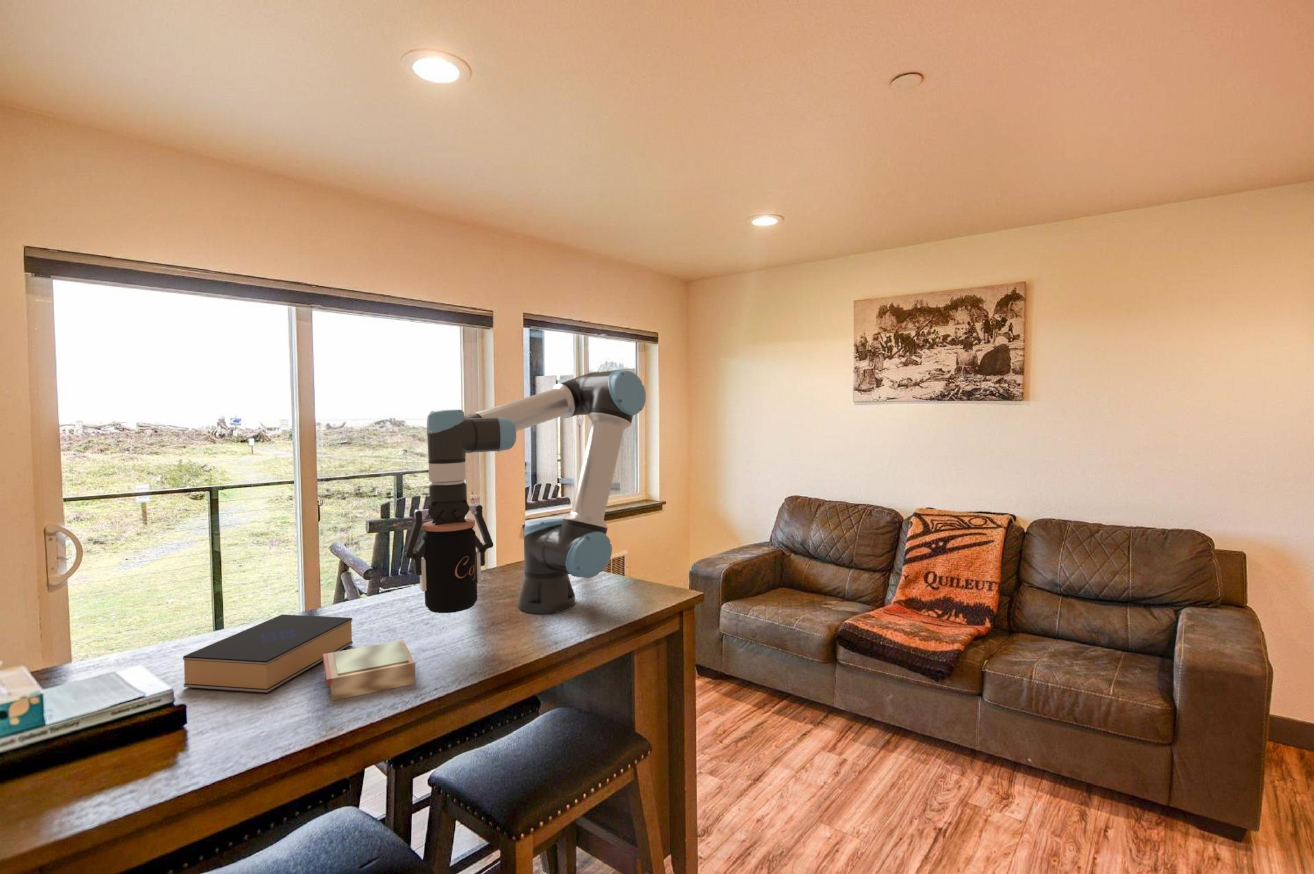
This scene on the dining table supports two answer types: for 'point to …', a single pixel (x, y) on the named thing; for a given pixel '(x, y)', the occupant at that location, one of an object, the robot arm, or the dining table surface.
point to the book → (267, 653)
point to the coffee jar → (450, 566)
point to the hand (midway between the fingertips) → (451, 585)
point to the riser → (368, 669)
